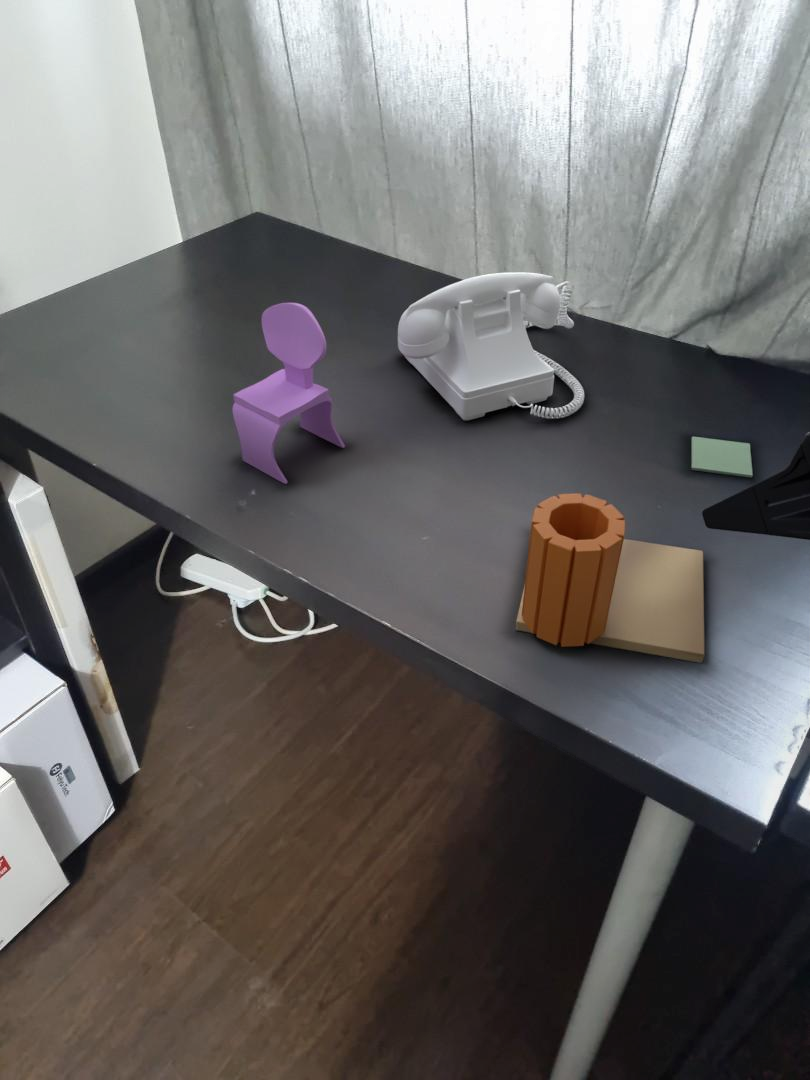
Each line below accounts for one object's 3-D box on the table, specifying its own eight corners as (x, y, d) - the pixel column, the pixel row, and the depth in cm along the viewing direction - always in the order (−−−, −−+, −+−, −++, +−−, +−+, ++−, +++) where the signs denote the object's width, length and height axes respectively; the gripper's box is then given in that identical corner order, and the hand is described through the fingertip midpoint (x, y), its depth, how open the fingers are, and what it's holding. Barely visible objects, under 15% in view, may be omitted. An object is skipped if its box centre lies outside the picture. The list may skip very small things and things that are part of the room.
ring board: (700, 559, 70) (714, 513, 67) (701, 663, 62) (717, 616, 58) (536, 534, 73) (541, 489, 70) (515, 630, 64) (520, 583, 61)
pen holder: (609, 594, 66) (628, 499, 60) (602, 654, 61) (622, 558, 55) (529, 580, 67) (539, 487, 61) (516, 638, 62) (526, 543, 56)
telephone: (549, 320, 105) (559, 221, 97) (649, 396, 91) (671, 287, 82) (367, 361, 98) (362, 257, 90) (444, 452, 83) (446, 338, 75)
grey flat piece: (749, 445, 83) (749, 443, 83) (752, 477, 79) (752, 475, 79) (691, 438, 84) (692, 436, 84) (691, 469, 80) (691, 467, 80)
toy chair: (232, 458, 83) (206, 319, 73) (296, 422, 88) (279, 286, 78) (288, 491, 79) (269, 347, 69) (352, 450, 84) (343, 311, 74)
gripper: (964, 307, 52) (715, 395, 60) (980, 255, 36) (639, 384, 45) (1020, 476, 51) (760, 541, 60) (1060, 499, 36) (701, 583, 44)
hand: (721, 512), depth 52 cm, fingers open, 9 cm apart
